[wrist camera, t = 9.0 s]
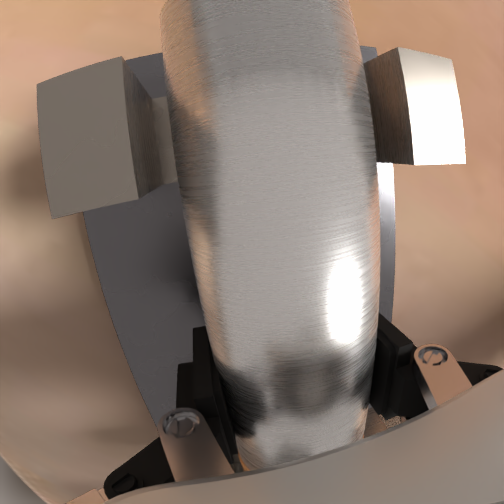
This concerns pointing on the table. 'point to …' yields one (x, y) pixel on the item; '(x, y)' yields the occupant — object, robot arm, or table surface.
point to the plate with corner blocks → (169, 200)
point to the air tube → (279, 213)
